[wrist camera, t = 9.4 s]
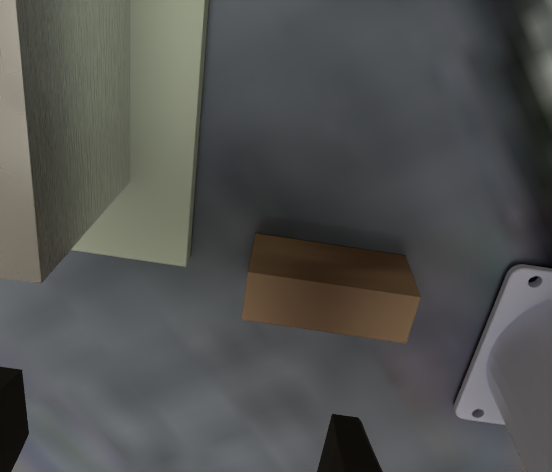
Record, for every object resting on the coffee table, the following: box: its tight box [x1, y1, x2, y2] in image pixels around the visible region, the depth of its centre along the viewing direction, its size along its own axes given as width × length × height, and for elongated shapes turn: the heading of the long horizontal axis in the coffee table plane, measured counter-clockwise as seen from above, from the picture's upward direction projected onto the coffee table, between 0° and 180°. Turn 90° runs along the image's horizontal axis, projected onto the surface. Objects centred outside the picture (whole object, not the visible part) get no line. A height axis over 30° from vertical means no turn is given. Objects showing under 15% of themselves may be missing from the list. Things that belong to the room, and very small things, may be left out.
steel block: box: [0, 0, 130, 284], centre depth 13 cm, size 4×10×7 cm, turn 173°
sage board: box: [71, 0, 209, 267], centre depth 17 cm, size 9×16×1 cm, turn 172°
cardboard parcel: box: [241, 233, 421, 343], centre depth 16 cm, size 6×17×3 cm, turn 172°
